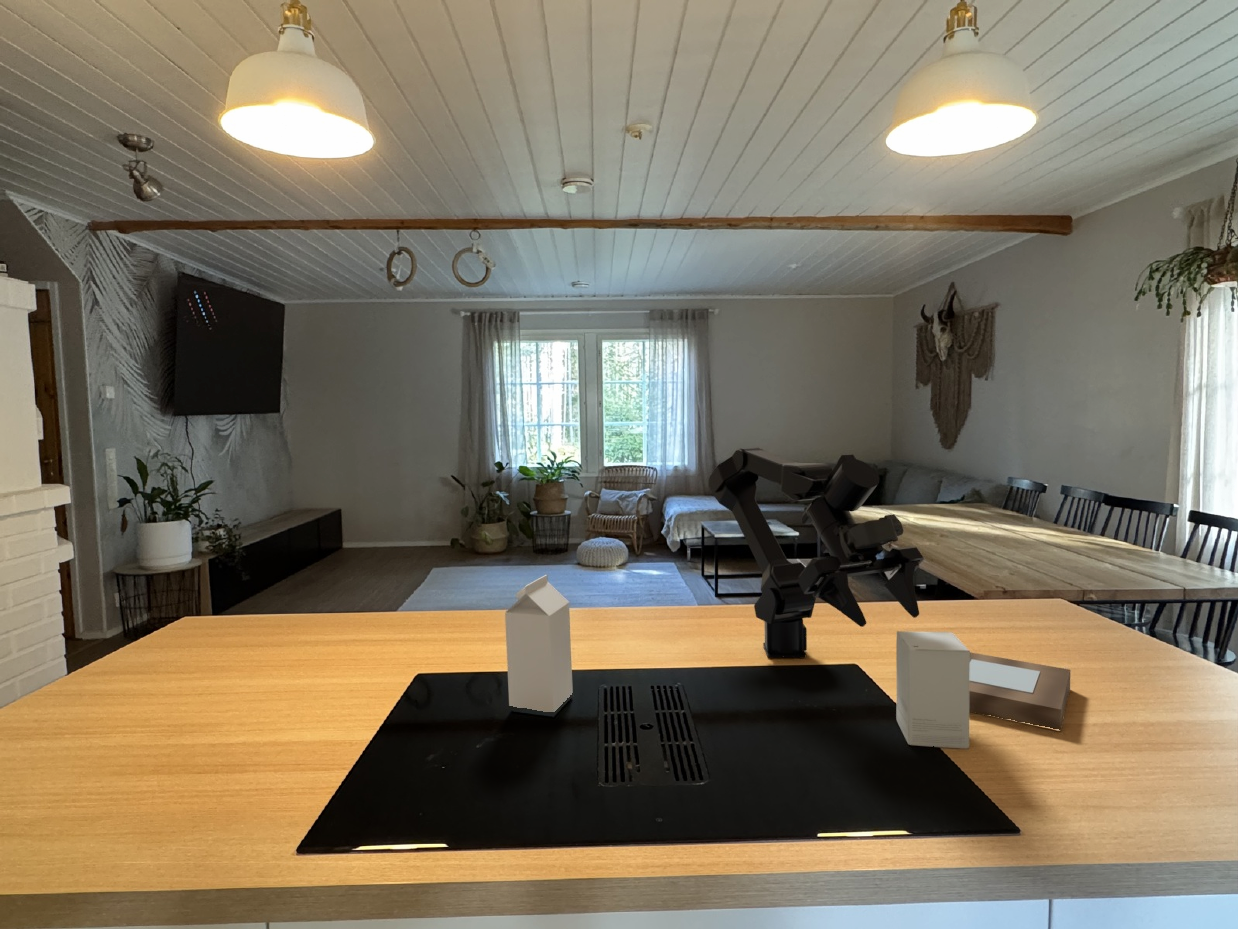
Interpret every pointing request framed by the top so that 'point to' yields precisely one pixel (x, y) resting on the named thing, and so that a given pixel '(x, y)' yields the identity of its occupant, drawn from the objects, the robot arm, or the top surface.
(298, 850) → the top surface
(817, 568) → the robot arm
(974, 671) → the plinth
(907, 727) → the supplement box
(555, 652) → the milk carton
